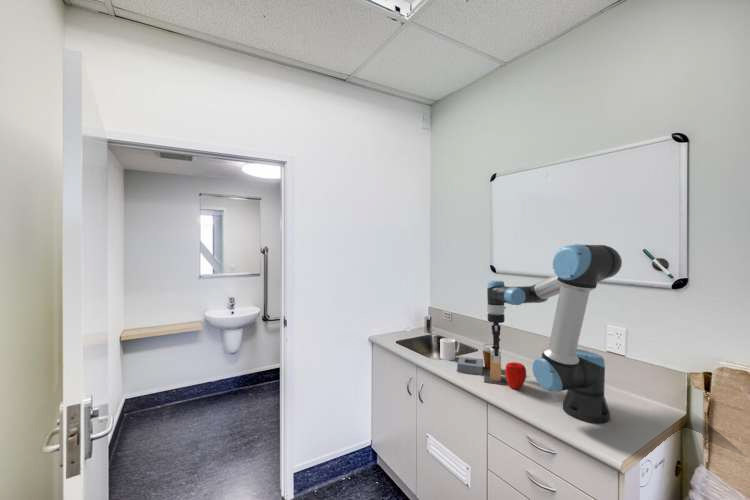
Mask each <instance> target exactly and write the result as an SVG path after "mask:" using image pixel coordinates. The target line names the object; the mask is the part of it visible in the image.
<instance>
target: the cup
mask: <svg viewBox="0 0 750 500" xmlns="http://www.w3.org/2000/svg"><path fill="white" fill-rule="evenodd" d="M456 341H457V350H456ZM439 343H440V344H439V345H440V348H439V349H440V350H439V351H440V353H439V355H440V356H439V357H440V359H441V360H445V361H454V360H456V353H459V350H460V346H461V345H460V340H459V339H458V338H450V337H447V338H446V337H445V338H444V337H443V338H440V340H439Z"/></svg>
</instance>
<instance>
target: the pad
mask: <svg viewBox="0 0 750 500" xmlns="http://www.w3.org/2000/svg"><path fill="white" fill-rule="evenodd" d="M483 383H485V384H493V385H501V386H506V387H507V386H508V382H507V379H506V375H501V382H500V381H492V380H490V373H484V377H483Z"/></svg>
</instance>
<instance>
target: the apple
mask: <svg viewBox="0 0 750 500" xmlns="http://www.w3.org/2000/svg"><path fill="white" fill-rule="evenodd" d="M504 370H505V372H504V374H505V375H504V376H505V377H506V379H507V386H509V387H510V388H511V389H514V390H515V389H521V388H522V387H523V385H524V383H525V382H526V381H525V380H526V378H527V369H526V367H525V365H523V363H520V362H513V361H512V362H508V363H506V365H505V369H504Z"/></svg>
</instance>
